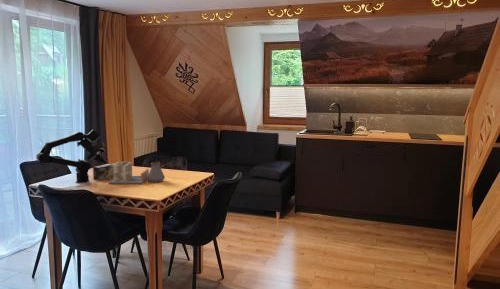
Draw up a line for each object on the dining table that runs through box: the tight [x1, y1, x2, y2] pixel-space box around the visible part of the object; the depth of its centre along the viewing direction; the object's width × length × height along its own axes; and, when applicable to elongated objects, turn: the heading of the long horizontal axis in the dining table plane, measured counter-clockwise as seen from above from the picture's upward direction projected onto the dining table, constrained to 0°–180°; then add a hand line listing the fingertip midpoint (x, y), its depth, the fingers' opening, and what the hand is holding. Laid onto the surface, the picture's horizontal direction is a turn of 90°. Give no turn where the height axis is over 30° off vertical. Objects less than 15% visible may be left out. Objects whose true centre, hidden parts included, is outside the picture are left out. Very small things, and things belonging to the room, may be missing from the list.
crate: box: [112, 161, 133, 181], centre depth 254 cm, size 9×12×11 cm
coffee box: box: [92, 163, 116, 181], centre depth 264 cm, size 9×6×16 cm
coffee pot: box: [147, 161, 172, 184], centre depth 250 cm, size 21×12×15 cm, turn 54°
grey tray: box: [108, 168, 150, 185], centre depth 254 cm, size 22×18×7 cm
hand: (105, 162), depth 253 cm, fingers closed
